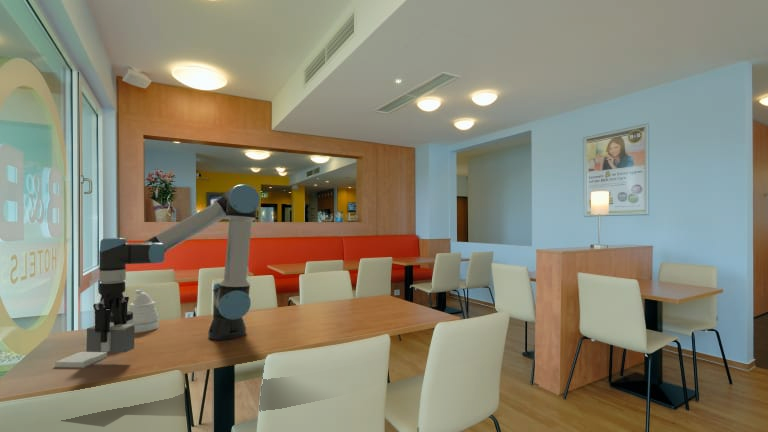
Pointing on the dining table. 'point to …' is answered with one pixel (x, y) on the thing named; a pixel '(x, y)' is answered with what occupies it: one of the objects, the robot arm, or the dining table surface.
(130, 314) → the jar
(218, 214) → the robot arm
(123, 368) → the dining table surface
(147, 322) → the honey pot
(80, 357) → the tile
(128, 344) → the grey rectangular block
